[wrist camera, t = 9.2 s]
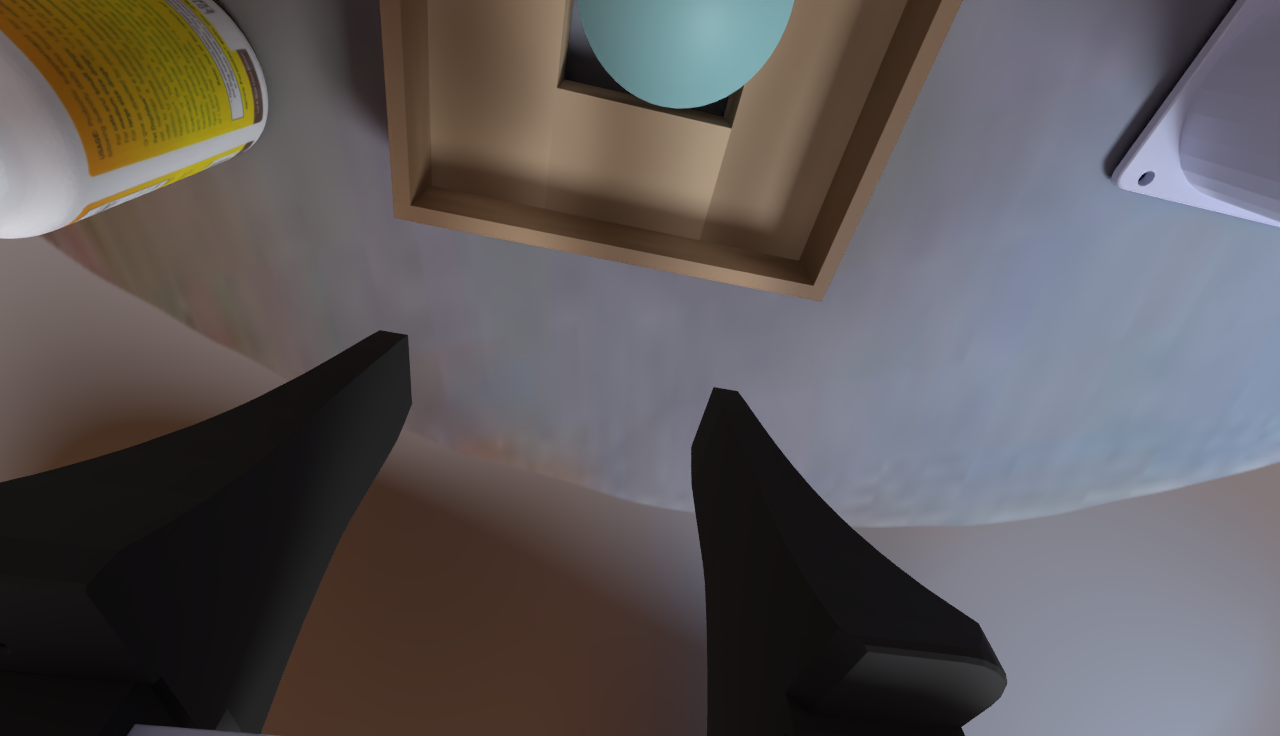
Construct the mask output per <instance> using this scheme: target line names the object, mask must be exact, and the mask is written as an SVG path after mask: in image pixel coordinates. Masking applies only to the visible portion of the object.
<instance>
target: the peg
mask: <svg viewBox="0 0 1280 736" xmlns="http://www.w3.org/2000/svg"><path fill="white" fill-rule="evenodd" d="M793 3H794V0H577V5H578V10H579V15H580V19H581V22H582V26H583V29H584V32H585V34H586V37H587V39H588V42H589V44H590V46H591V48H592V50H593V52H594V53H595V55H596V57H597V59H598V60H599V62H600V63H601V64H602V66H603V67H604V69H605V70H606V71H607V72H608V73H609V75H610V76H611V77H612V78H613V79H614V80H615V81H616V82H617V83H618V84H620V85H621V86H622V87H623V88H624V89H625V90H627V91H628V92H630V93H631V94H633V95H635V96H636V97H638V98H640V99H642V100H644V101H647V102H649V103H651V104H655V105H658V106H662V107H668V108H694V107H700V106H704V105H707V104H711V103H714V102H716V101H718V100H720V99H723V98H725V97H727V96H728V95H730V94H732V93H733V92H735V91H737V90H738V89H739V88H741V87H742V86H743V85H744V84H746V83H747V82H748V81H749V80H750V79H751V78H752V77H753V76H754V75H755V74H756V73H757V72H758V71H759V70H760V69H761V68H762V66H763V65H764V64H765V63H766V61H767V60H768V59H769V57H770V56H771V54H772V53H773V51H774V49H775V48H776V46H777V45H778V43H779V41H780V39H781V37H782V35H783V32H784V30H785V28H786V26H787V23H788V20H789V17H790V14H791V11H792V7H793Z"/></svg>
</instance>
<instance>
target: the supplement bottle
mask: <svg viewBox="0 0 1280 736" xmlns="http://www.w3.org/2000/svg"><path fill="white" fill-rule="evenodd" d="M267 114H268V94H267V87H266V83H265V78H264V75H263V72H262V69H261V66H260V64H259V61H258V59H257V57H256V55H255V53H254V51H253V49H252V48H251V46H250V44H249V42H248V41H247V39H246V38H245V36H244V35H243V33H242V32H241V31H240V29H239V28H238V27H237V25H236V24H235V23H234V22H233V20H232V19H231V18H230V17H229V16H228V15H227V14H226V13H225V12H224V11H223V10H222V9H221V8H220V7H219V6H218V5H217V4H216V3H215V2H214V1H213V0H0V238H10V239H12V238H26V237H32V236H37V235H41V234H45V233H48V232H51V231H54V230H57V229H59V228H62V227H65V226H67V225H69V224H72V223H74V222H77V221H79V220H82V219H84V218H87V217H89V216H92V215H94V214H97V213H99V212H102V211H104V210H106V209H109V208H111V207H114V206H116V205H119V204H121V203H124V202H126V201H129V200H131V199H134V198H136V197H139V196H141V195H143V194H146V193H148V192H151V191H154V190H156V189H158V188H161V187H164V186H166V185H169V184H171V183H173V182H175V181H178V180H181V179H183V178H186V177H188V176H191V175H193V174H195V173H197V172H200V171H202V170H205V169H207V168H210V167H212V166H214V165H216V164H219V163H222V162H224V161H226V160H229V159H231V158H233V157H235V156H238V155H239V154H241V153H243V152H245V151H246V150H248V149H249V148H250V147H251V146H252V145H253V144H254V143H255V142H256V141H257V139H258V138H259V137H260V135H261V133H262V131H263V129H264V126H265V124H266V120H267Z"/></svg>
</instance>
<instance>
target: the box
mask: <svg viewBox="0 0 1280 736" xmlns="http://www.w3.org/2000/svg"><path fill="white" fill-rule="evenodd" d="M962 1H963V0H794V3H793V7H792V11H791V14H790V17H789V20H788V23H787V26H786V28H785V30H784V32H783V35H782V37H781V39H780V41H779V43H778V45H777V46H776V48H775V49H774V51H773V53H772V54H771V56H770V57H769V59H768V60H767V61H766V63H765V64H764V65H763V66H762V68H761V69H760V70H759V71H758V72H757V73H756V74H755V75H754V76H753V77H752V78H751V79H750V80H749V81H748V82H747V83H746V84H744V85H743V86H742V87H741V88H739V89H738V90H737V91H735V92H733V93H732V94H730V95H729V98H728V102H727V106H726V109H725V113H724V116H719V115H715V114H711V113H707V112H702V111H698V110H694V109H690V108H668V107H662V106H658V105H655V104H651V103H649V102H647V101H644V100H642V99H640V98H638V97H636V96H634V95H630V94H626V93H622V92H617V91H613V90H609V89H605V88H600V87H596V86H592V85H588V84H583V83H579V82H575V81H571V80H566V79H565V72H566V63H567V54H568V45H569V36H570V26H571V17H572V8H573V0H379V2H380V17H381V32H382V46H383V61H384V76H385V90H386V105H387V120H388V134H389V149H390V164H391V178H392V193H393V208H394V218H397V219H402V220H407V221H412V222H417V223H422V224H427V225H432V226H437V227H443V228H448V229H453V230H458V231H463V232H468V233H473V234H478V235H483V236H489V237H494V238H499V239H504V240H509V241H514V242H519V243H524V244H529V245H535V246H540V247H545V248H550V249H555V250H560V251H565V252H570V253H575V254H581V255H586V256H591V257H596V258H601V259H606V260H611V261H616V262H621V263H627V264H632V265H637V266H642V267H647V268H652V269H657V270H662V271H667V272H672V273H678V274H683V275H688V276H693V277H698V278H703V279H708V280H713V281H718V282H724V283H729V284H734V285H739V286H744V287H749V288H754V289H759V290H764V291H770V292H775V293H780V294H785V295H790V296H795V297H800V298H805V299H810V300H816V301H821V302H822V300H823V298H824V295H825V293H826V291H827V289H828V287H829V285H830V283H831V280H832V278H833V276H834V274H835V272H836V270H837V268H838V266H839V263H840V261H841V259H842V257H843V255H844V253H845V251H846V248H847V246H848V244H849V242H850V240H851V238H852V236H853V234H854V231H855V229H856V227H857V225H858V223H859V221H860V219H861V216H862V214H863V212H864V210H865V208H866V206H867V204H868V202H869V199H870V197H871V195H872V193H873V191H874V189H875V187H876V184H877V182H878V180H879V178H880V176H881V174H882V172H883V170H884V167H885V165H886V163H887V161H888V159H889V157H890V155H891V152H892V150H893V148H894V146H895V144H896V142H897V140H898V138H899V135H900V133H901V131H902V129H903V127H904V125H905V123H906V120H907V118H908V116H909V114H910V112H911V110H912V108H913V106H914V103H915V101H916V99H917V97H918V95H919V93H920V91H921V88H922V86H923V84H924V82H925V80H926V78H927V76H928V74H929V71H930V69H931V67H932V65H933V63H934V61H935V59H936V56H937V54H938V52H939V50H940V48H941V46H942V44H943V42H944V39H945V37H946V35H947V33H948V31H949V29H950V27H951V24H952V22H953V20H954V18H955V16H956V14H957V12H958V9H959V7H960V5H961V3H962Z"/></svg>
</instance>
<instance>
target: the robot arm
mask: <svg viewBox="0 0 1280 736" xmlns="http://www.w3.org/2000/svg"><path fill="white" fill-rule="evenodd" d="M1144 173H1146V175H1145V177H1144V178H1143V179H1142V180H1141V181H1139V182H1138V180H1139V178H1140V177H1141V176H1142V175H1143V174H1144ZM1111 181H1112V184H1113V185H1115V186H1116V187H1119V188H1121V189H1124V190H1128V191H1132V192H1136V193H1141V194H1145V195H1149V196H1153V197H1157V198H1161V199H1166V200H1170V201H1174V202H1178V203H1182V204H1186V205H1190V206H1195V207H1199V208H1203V209H1207V210H1211V211H1215V212H1220V213H1224V214H1228V215H1232V216H1236V217H1240V218H1244V219H1249V220H1253V221H1257V222H1261V223H1265V224H1269V225H1274V226H1278V227H1280V0H1237V1H1236V3H1235V4H1234V5H1233V7H1232V8H1231V10H1230V11H1229V12H1228V14H1227V15H1226V17H1225V18H1224V19H1223V21H1222V22H1221V23H1220V25H1219V26H1218V28H1217V29H1216V30H1215V32H1214V33H1213V35H1212V36H1211V37H1210V39H1209V40H1208V41H1207V43H1206V44H1205V46H1204V47H1203V48H1202V50H1201V51H1200V53H1199V54H1198V55H1197V57H1196V58H1195V60H1194V61H1193V62H1192V64H1191V65H1190V66H1189V68H1188V69H1187V71H1186V72H1185V73H1184V75H1183V76H1182V78H1181V79H1180V80H1179V82H1178V83H1177V84H1176V86H1175V87H1174V89H1173V90H1172V91H1171V93H1170V94H1169V96H1168V97H1167V98H1166V100H1165V101H1164V103H1163V104H1162V105H1161V107H1160V108H1159V109H1158V111H1157V112H1156V114H1155V115H1154V116H1153V118H1152V119H1151V121H1150V122H1149V123H1148V125H1147V126H1146V127H1145V129H1144V130H1143V132H1142V133H1141V134H1140V136H1139V137H1138V139H1137V140H1136V141H1135V143H1134V144H1133V145H1132V147H1131V148H1130V150H1129V151H1128V152H1127V154H1126V155H1125V157H1124V158H1123V159H1122V161H1121V162H1120V164H1119V165H1118V166H1117V168H1116V169H1115V171H1114V173H1113V174H1112V179H1111ZM411 405H412V396H411V380H410V363H409V347H408V335H404V334H399V333H393V332H387V331H381V330H380V331H378V332H376V333H374V334H372V335H370V336H369V337H367V338H365V339H363V340H362V341H360V342H358V343H357V344H355V345H353V346H352V347H350V348H348V349H346V350H345V351H343V352H341V353H340V354H338V355H336V356H334V357H333V358H331V359H329V360H327V361H326V362H324V363H322V364H320V365H319V366H317V367H315V368H313V369H312V370H310V371H308V372H306V373H304V374H303V375H301V376H299V377H297V378H295V379H293V380H291V381H289V382H287V383H285V384H283V385H281V386H279V387H277V388H275V389H273V390H271V391H269V392H268V393H266V394H264V395H262V396H260V397H258V398H255V399H253V400H251V401H249V402H247V403H245V404H243V405H240V406H238V407H236V408H234V409H231V410H229V411H227V412H224V413H222V414H220V415H217V416H215V417H212V418H210V419H207V420H205V421H202V422H200V423H198V424H195V425H192V426H189V427H187V428H184V429H181V430H178V431H175V432H172V433H169V434H167V435H164V436H161V437H158V438H155V439H152V440H150V441H147V442H144V443H141V444H139V445H136V446H132V447H129V448H126V449H123V450H120V451H117V452H113V453H110V454H106V455H103V456H100V457H97V458H93V459H90V460H86V461H82V462H79V463H75V464H72V465H68V466H65V467H61V468H58V469H54V470H50V471H46V472H42V473H38V474H34V475H30V476H26V477H22V478H17V479H13V480H9V481H5V482H1V483H0V736H278V735H266V734H261V731H262V728H263V726H264V723H265V720H266V718H267V715H268V712H269V709H270V707H271V704H272V702H273V699H274V696H275V693H276V691H277V688H278V685H279V682H280V680H281V677H282V675H283V672H284V670H285V667H286V665H287V662H288V660H289V657H290V655H291V652H292V650H293V647H294V645H295V642H296V640H297V637H298V635H299V632H300V629H301V627H302V624H303V622H304V620H305V617H306V615H307V613H308V610H309V608H310V606H311V603H312V601H313V599H314V596H315V594H316V591H317V589H318V587H319V585H320V582H321V580H322V578H323V576H324V573H325V571H326V569H327V567H328V565H329V562H330V560H331V558H332V555H333V554H334V551H335V549H336V547H337V544H338V543H339V540H340V538H341V536H342V535H343V533H344V531H345V529H346V527H347V525H348V523H349V521H350V520H351V518H352V516H353V514H354V513H355V511H356V510H357V508H358V506H359V504H360V503H361V501H362V499H363V497H364V496H365V494H366V492H367V491H368V489H369V488H370V486H371V484H372V482H373V480H374V479H375V477H376V476H377V474H378V472H379V471H380V469H381V467H382V465H383V464H384V462H385V460H386V459H387V457H388V455H389V453H390V452H391V450H392V448H393V446H394V445H395V442H396V441H397V439H398V437H399V434H400V432H401V430H402V427H403V425H404V422H405V420H406V417H407V415H408V412H409V410H410V407H411ZM691 476H692V490H693V498H694V505H695V512H696V519H697V526H698V533H699V540H700V547H701V553H702V560H703V568H704V578H705V591H706V592H705V595H706V620H707V660H708V661H707V667H708V716H707V736H965V735H964V732H963V730H962V728H961V727H962V726H963V725H965V724H966V723H967V722H969V721H970V720H972V719H973V718H975V717H976V716H977V715H979V714H980V713H982V712H983V711H985V710H986V709H987V708H989V707H990V706H991V705H992V704H994V703H995V702H996V701H997V700H998V699H999V698H1000V697H1001V695H1002V693H1003V691H1004V689H1005V687H1006V685H1007V679H1006V673H1005V672H1004V670H1003V668H1002V666H1001V664H1000V662H999V660H998V659H997V657H996V655H995V653H994V651H993V649H992V647H991V645H990V644H989V642H988V640H987V638H986V636H985V634H984V632H983V631H982V629H981V627H980V625H979V624H978V623H977V622H976V621H974V620H973V619H971V618H970V617H968V616H967V615H965V614H964V613H962V612H961V611H959V610H958V609H956V608H955V607H953V606H952V605H950V604H949V603H947V602H946V601H944V600H943V599H941V598H940V597H938V596H937V595H935V594H934V593H932V592H931V591H930V590H928V589H927V588H925V587H924V586H923V585H921V584H920V583H919V582H917V581H916V580H915V579H913V578H912V577H911V576H909V575H908V574H907V573H905V572H904V571H903V570H901V569H900V568H899V567H897V566H896V565H895V564H894V563H892V562H891V561H890V560H889V559H887V558H886V557H885V556H884V555H882V554H881V553H880V552H879V551H878V550H876V549H875V548H874V547H873V546H872V545H871V544H869V543H868V542H867V541H866V540H865V539H864V538H863V537H861V536H860V535H859V534H858V533H857V532H856V531H855V530H853V529H852V528H851V527H850V526H849V525H848V524H847V523H846V522H845V521H844V520H843V519H842V518H841V517H840V516H839V515H838V514H837V513H836V512H835V511H834V510H833V509H832V508H831V507H830V506H829V505H828V504H827V503H826V502H825V501H824V500H823V499H822V498H821V497H820V496H819V495H818V494H817V493H816V492H815V491H814V490H813V489H812V487H811V486H810V485H809V484H808V483H807V482H806V481H805V479H804V478H803V477H802V476H801V475H800V474H799V472H798V471H797V470H796V469H795V468H794V467H793V465H792V464H791V463H790V462H789V460H788V459H787V458H786V457H785V455H784V454H783V453H782V451H781V450H780V449H779V448H778V446H777V445H776V444H775V442H774V441H773V440H772V438H771V437H770V436H769V434H768V433H767V431H766V430H765V429H764V427H763V426H762V425H761V423H760V422H759V420H758V419H757V418H756V416H755V415H754V413H753V412H752V410H751V409H750V408H749V406H748V405H747V403H746V402H745V400H744V399H743V398H742V396H741V395H740V394H739V392H738V391H733V390H727V389H721V388H715V387H714V388H713V390H712V393H711V396H710V398H709V401H708V404H707V406H706V409H705V412H704V414H703V417H702V420H701V422H700V425H699V428H698V431H697V433H696V436H695V439H694V441H693V444H692V447H691Z"/></svg>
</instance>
